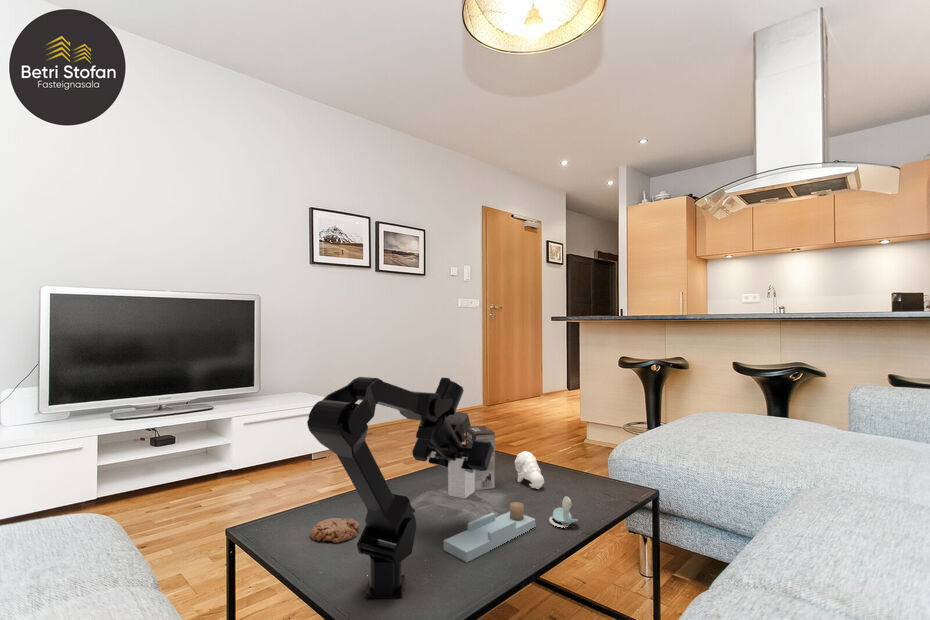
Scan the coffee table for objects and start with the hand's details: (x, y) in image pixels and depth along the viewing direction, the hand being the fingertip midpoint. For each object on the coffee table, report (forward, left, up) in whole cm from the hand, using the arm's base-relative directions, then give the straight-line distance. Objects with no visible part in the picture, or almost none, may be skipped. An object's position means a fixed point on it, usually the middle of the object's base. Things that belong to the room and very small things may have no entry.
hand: (464, 469), depth 110 cm
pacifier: (-2, -23, -13) cm, 26 cm away
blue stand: (-8, -6, -12) cm, 16 cm away
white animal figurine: (+25, -21, -13) cm, 35 cm away
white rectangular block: (-1, +1, -5) cm, 5 cm away
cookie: (-4, +29, -13) cm, 32 cm away
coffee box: (+26, -6, -13) cm, 29 cm away
